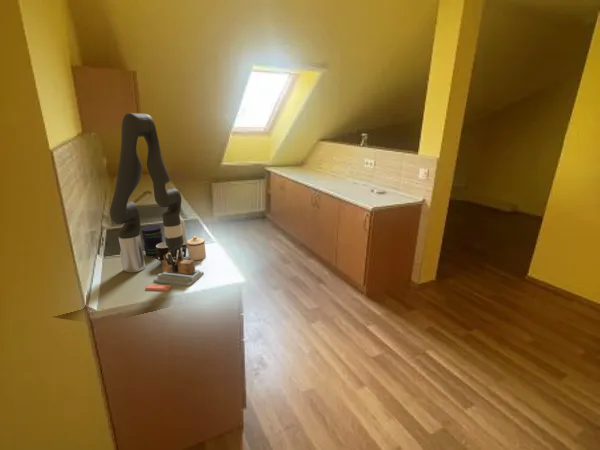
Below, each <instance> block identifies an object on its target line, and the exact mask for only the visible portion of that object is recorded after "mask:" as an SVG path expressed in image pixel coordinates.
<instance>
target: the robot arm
mask: <svg viewBox="0 0 600 450" xmlns="http://www.w3.org/2000/svg"><path fill="white" fill-rule="evenodd" d="M139 137H140V138H141V137H143V138H144V140H145V142H146V145H147V157H146V167H147V171H148V173H149V176H150V178H151V181H152V185H153V194H154V195H153V196H154V200H155V203H156V204H157V205H158V206H159V207H161V208H162V209H163V208H167V210H165V211H164V212H163V213H162V216H161V217H162V223H163V235H164V239H165V240H164V242H166V246H168V253H167V254H165V255H164V257H165V259H166V261H167V263H168V265H172V270H173V272H178V267H177V260H178V259H185V258H186V256H187V248H186V247H187V245H186V244H183V243H184V240H183V233H182V227H181V222H180V217H181V207H182V195H181V193H180V191H179V189H177V188H173V187H172V188H168V189H166V185H167V184H168V183H170V182H171V177H170V174H169V172H168V169H167V167H166V164H165V161H164V159H163V155H162V150H161V145H160V141H159V137H158V132H157V127H156V124H155V122H154V119H153V118H152V116H151V115H150V114H147V113H142V112H141V113H140V112H139V113H138V112H128V113H126V114H125V115H124V116H123V118H122V122H121V143H120V144H121V145H120V153H119V161H118V167H117V172H116V182H115V188H114V193H113V196H112V198H111V199H112V200H111V204H110V208H109V217H110V220H111V221H112V223H114V224H116V225H122V224H123V225H122V227H121V228H120V229H119V230H118V231H117V237H118V242H119V246H120V251H119V256H120V262H121V266H122V270H123V271H124V272H126V273H137V272H138V273H139V272H141V271H142V270H145V268H146V267H147V266H146V262H145V253H144V249H143V243H142V236H141V228H142V227H141V217H140V212H139V211H140V210H139V207H138V205H137V204H136V203H135V202H134V201H131V200H130V197H131V196H132V194H133V193H134V191H135V190H136V188H137V187H138V185H139V183H140V182H141V179H142V174H143V163H142V161H141V158H140V156H139V154H138V151H137V143H138V138H139ZM173 257H175V258H173ZM173 260H174V261H173Z"/></svg>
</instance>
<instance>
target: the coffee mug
mask: <svg viewBox="0 0 600 450" xmlns="http://www.w3.org/2000/svg"><path fill="white" fill-rule="evenodd" d="M156 248H157V253H158V255H159V256H157V253H156V255H155V257H154V258H155V259H156V260H157V261H159V262H160V265H161V266H162V262H161V261H163V260H164V257H163V256H164V255H165V254H167V253H168V246H166V242H165V241H163V243H159V244H157V245H156ZM173 258H175V257H173Z"/></svg>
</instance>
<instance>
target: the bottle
mask: <svg viewBox="0 0 600 450" xmlns="http://www.w3.org/2000/svg"><path fill="white" fill-rule="evenodd" d="M180 222H181V227H182V233H183V240H184V243H183V244H187V241H188V240H187V239H188V238H187V233H186V232H187V231H186V226H185V225H186V224H185V220H184V219H183V218H182V216H180ZM186 249H187V247H186Z"/></svg>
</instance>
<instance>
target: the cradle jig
mask: <svg viewBox="0 0 600 450" xmlns="http://www.w3.org/2000/svg"><path fill="white" fill-rule="evenodd" d="M204 274H205V273H204V271H200V269H195V271H194V272H192V273H191V274H184V273H174V272H165V271H163V272H162V273H158V274H157V275H156V277H155V278H153V282H154V283H161V284H167V285H178V286H186V287H191V286H192V285H193V284H194V283H195V282H196V281H197V280H198V279H200V278H202V276H204Z"/></svg>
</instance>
